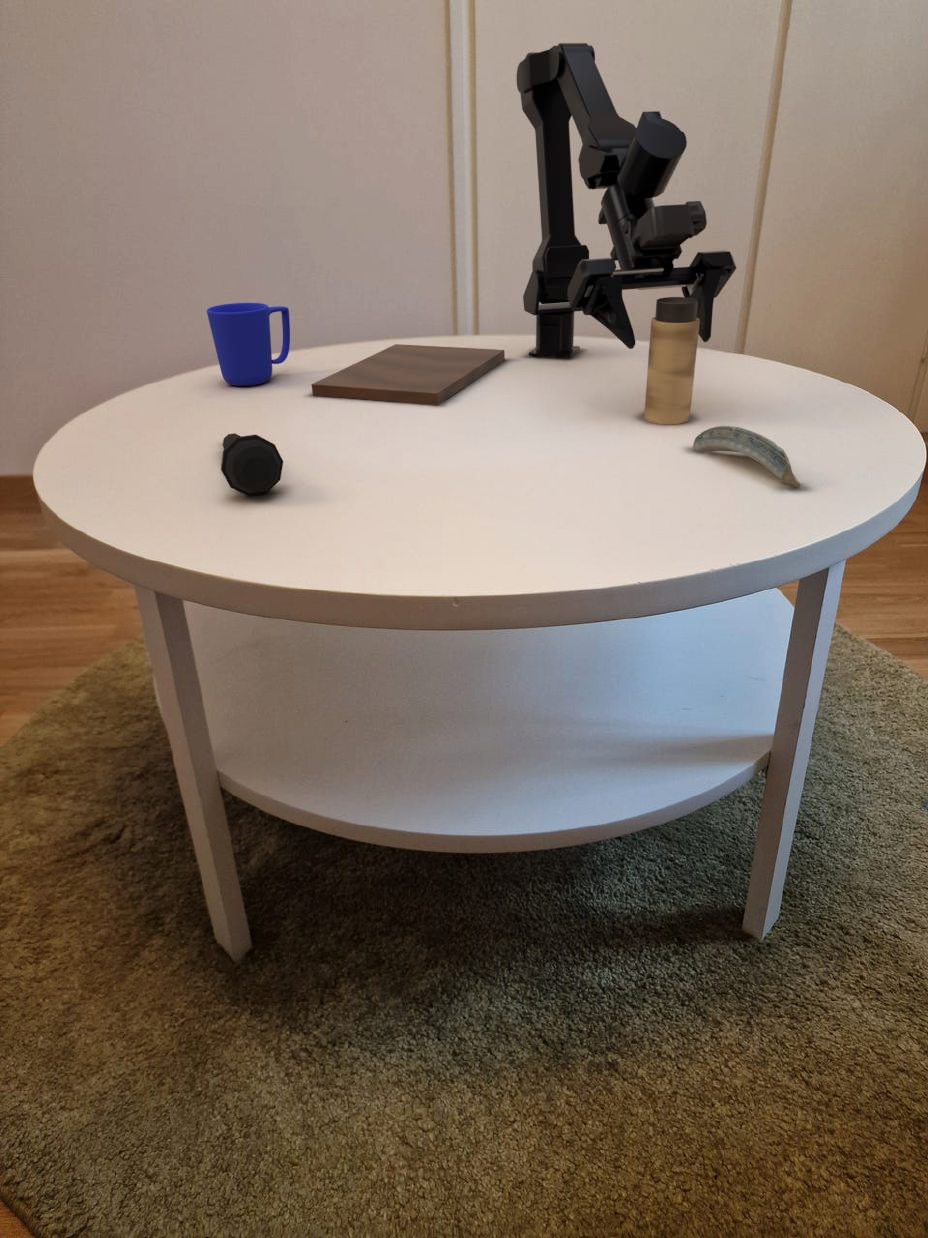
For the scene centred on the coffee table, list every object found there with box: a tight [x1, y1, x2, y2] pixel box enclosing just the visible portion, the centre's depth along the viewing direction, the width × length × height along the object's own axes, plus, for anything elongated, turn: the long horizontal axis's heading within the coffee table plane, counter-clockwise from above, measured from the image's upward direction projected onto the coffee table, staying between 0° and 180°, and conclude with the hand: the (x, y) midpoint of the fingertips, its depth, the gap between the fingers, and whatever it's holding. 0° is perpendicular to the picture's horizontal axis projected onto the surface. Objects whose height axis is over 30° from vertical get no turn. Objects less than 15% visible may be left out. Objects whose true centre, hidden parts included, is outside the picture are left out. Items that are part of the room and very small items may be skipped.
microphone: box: [220, 432, 284, 497], centre depth 86 cm, size 6×6×20 cm
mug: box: [206, 302, 291, 387], centre depth 119 cm, size 8×12×10 cm
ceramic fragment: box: [692, 425, 802, 488], centre depth 83 cm, size 14×5×4 cm, turn 22°
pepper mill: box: [643, 296, 700, 425], centre depth 96 cm, size 5×5×13 cm
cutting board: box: [311, 343, 506, 406], centre depth 120 cm, size 26×18×2 cm
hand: (670, 343), depth 95 cm, fingers open, 9 cm apart
